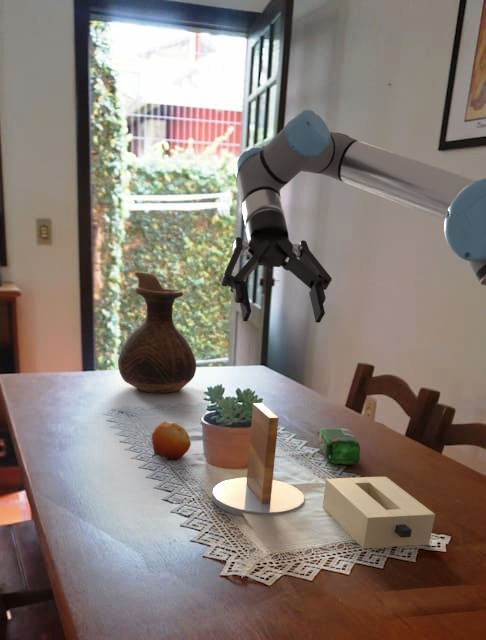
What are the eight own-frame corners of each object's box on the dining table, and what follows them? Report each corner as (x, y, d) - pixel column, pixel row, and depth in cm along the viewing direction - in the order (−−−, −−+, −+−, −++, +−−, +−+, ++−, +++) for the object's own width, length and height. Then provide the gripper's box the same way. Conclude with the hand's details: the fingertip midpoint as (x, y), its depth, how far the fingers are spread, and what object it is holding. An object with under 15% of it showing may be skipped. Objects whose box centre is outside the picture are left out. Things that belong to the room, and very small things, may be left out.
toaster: (380, 508, 119) (385, 476, 117) (435, 555, 103) (442, 519, 101) (321, 511, 116) (325, 478, 114) (368, 560, 100) (374, 523, 98)
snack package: (346, 446, 151) (349, 423, 149) (361, 470, 137) (364, 445, 135) (314, 444, 151) (317, 421, 149) (326, 468, 136) (328, 443, 135)
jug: (203, 383, 199) (208, 276, 188) (184, 400, 180) (189, 282, 168) (132, 376, 204) (133, 270, 192) (106, 392, 184) (106, 276, 173)
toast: (254, 484, 123) (261, 403, 117) (270, 503, 115) (278, 417, 109) (246, 484, 123) (252, 403, 117) (261, 504, 115) (269, 417, 109)
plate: (285, 481, 128) (286, 475, 128) (317, 516, 114) (318, 510, 114) (203, 485, 125) (203, 478, 124) (225, 521, 111) (225, 514, 110)
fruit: (148, 440, 143) (168, 410, 139) (179, 462, 143) (200, 433, 140) (137, 452, 135) (158, 421, 132) (169, 475, 136) (191, 445, 132)
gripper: (320, 240, 134) (341, 331, 126) (196, 234, 128) (211, 329, 120) (334, 211, 127) (358, 305, 119) (204, 203, 121) (220, 301, 114)
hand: (284, 317), depth 120 cm, fingers open, 13 cm apart
